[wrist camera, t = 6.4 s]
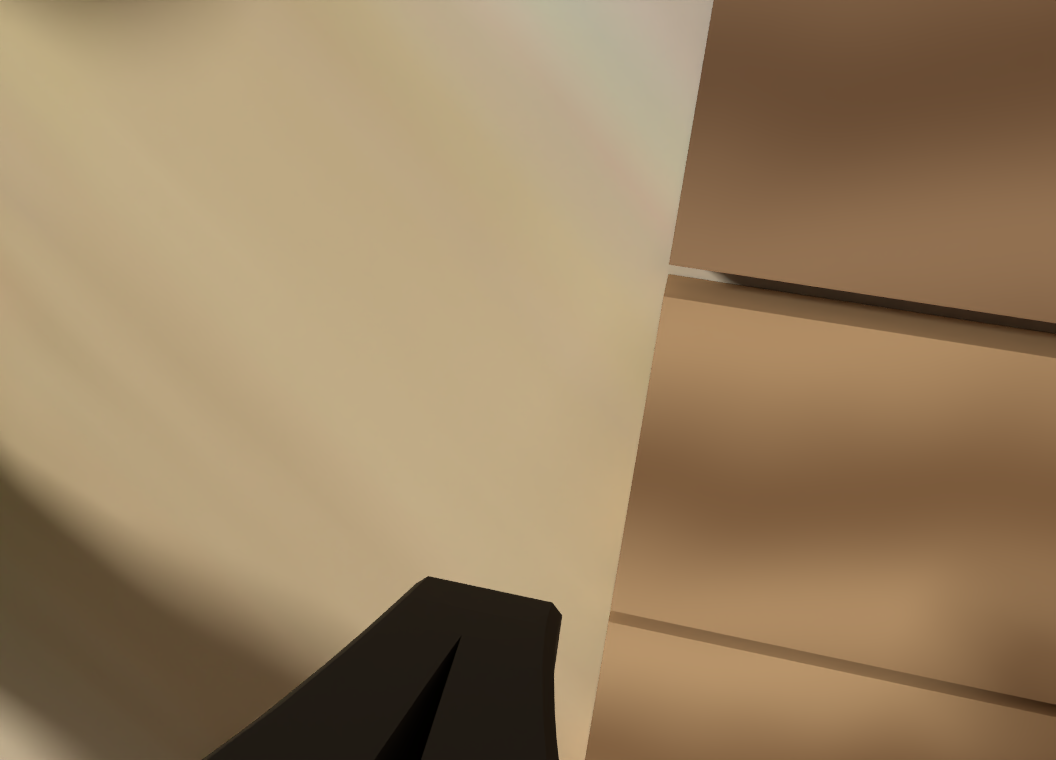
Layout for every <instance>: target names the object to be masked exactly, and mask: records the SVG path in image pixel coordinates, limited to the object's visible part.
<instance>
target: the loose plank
mask: <svg viewBox="0 0 1056 760" xmlns="http://www.w3.org/2000/svg"><path fill="white" fill-rule="evenodd" d="M669 264H670V265H676V266H683V267H689V268H696V269H702V270H709V271H716V272H722V273H729V274H735V275H742V276H748V277H755V278H762V279H768V280H775V281H781V282H788V283H794V284H801V285H807V286H814V287H821V288H827V289H834V290H840V291H847V292H853V293H860V294H867V295H873V296H880V297H886V298H893V299H899V300H906V301H913V302H919V303H926V304H932V305H939V306H945V307H952V308H958V309H965V310H972V311H978V312H985V313H991V314H998V315H1004V316H1011V317H1018V318H1024V319H1031V320H1037V321H1044V322H1050V323H1056V0H714V2H713V8H712V14H711V20H710V25H709V31H708V37H707V43H706V49H705V55H704V61H703V67H702V73H701V79H700V85H699V90H698V96H697V102H696V108H695V114H694V120H693V126H692V132H691V138H690V144H689V150H688V155H687V161H686V167H685V173H684V179H683V185H682V191H681V197H680V203H679V209H678V215H677V220H676V226H675V232H674V238H673V244H672V250H671V256H670V262H669Z"/></svg>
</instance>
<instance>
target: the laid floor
mask: <svg viewBox="0 0 1056 760" xmlns="http://www.w3.org/2000/svg"><path fill="white" fill-rule="evenodd" d="M585 760H1056V334H1053V333H1047V332H1040V331H1034V330H1027V329H1021V328H1014V327H1008V326H1001V325H995V324H988V323H982V322H975V321H969V320H962V319H956V318H949V317H943V316H936V315H930V314H923V313H917V312H910V311H904V310H897V309H891V308H884V307H878V306H871V305H865V304H858V303H852V302H845V301H839V300H832V299H826V298H819V297H813V296H806V295H800V294H793V293H787V292H780V291H774V290H767V289H761V288H754V287H748V286H741V285H735V284H729V283H722V282H716V281H709V280H703V279H696V278H690V277H683V276H677V275H670V274H668V279H667V283H666V288H665V293H664V297H663V303H662V309H661V315H660V321H659V327H658V333H657V339H656V344H655V350H654V356H653V362H652V368H651V374H650V380H649V386H648V392H647V398H646V403H645V409H644V415H643V421H642V427H641V433H640V439H639V445H638V451H637V457H636V462H635V468H634V474H633V480H632V486H631V492H630V498H629V504H628V510H627V515H626V521H625V527H624V533H623V539H622V545H621V551H620V557H619V563H618V569H617V574H616V580H615V586H614V592H613V598H612V604H611V611H610V616H609V622H608V628H607V633H606V639H605V645H604V651H603V657H602V663H601V669H600V675H599V681H598V687H597V692H596V698H595V704H594V710H593V716H592V722H591V728H590V734H589V740H588V746H587V751H586V757H585Z"/></svg>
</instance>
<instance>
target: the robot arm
mask: <svg viewBox="0 0 1056 760" xmlns="http://www.w3.org/2000/svg"><path fill="white" fill-rule="evenodd" d="M561 620H562V615H561V613H560V612H559V611H558V610H557V608H556V607H555V606H554V604H553V603H552V602H547V601H542V600H538V599H533V598H528V597H523V596H519V595H514V594H509V593H505V592H500V591H495V590H491V589H486V588H481V587H476V586H472V585H467V584H462V583H458V582H453V581H448V580H443V579H439V578H434V577H429V576H428V577H426V578H424V579H423V580H421V581H420V582H418V583H416V584H415V585H414V586H413V587H412V588H411V589H410V590H409V591H408V592H406V593H405V594H404V595H403V596H402V597H401V598H400V599H399V600H398V601H397V602H396V603H394V604H393V605H392V606H391V607H390V608H389V609H388V610H387V611H386V612H384V613H383V614H382V615H381V616H380V617H379V618H378V619H377V620H376V621H374V622H373V623H372V624H371V625H370V626H369V627H368V628H367V629H365V630H364V631H363V632H362V633H361V634H360V635H359V636H357V637H356V638H355V639H354V640H353V641H352V642H350V643H349V644H348V645H347V646H346V647H345V648H344V649H342V650H341V651H340V652H339V653H338V654H337V655H335V656H334V657H333V658H332V659H331V660H330V661H328V662H327V663H326V664H325V665H324V666H322V667H321V668H320V669H319V670H317V671H316V672H315V673H314V674H312V675H311V676H310V677H309V678H308V679H306V680H305V681H304V682H303V683H301V684H300V685H299V686H298V687H296V688H295V689H294V690H293V691H292V692H290V693H289V694H288V695H287V696H285V697H284V698H283V699H282V700H281V701H279V702H278V703H277V704H276V705H274V706H273V707H272V708H271V709H269V710H268V711H267V712H266V713H264V714H263V715H262V716H261V717H259V718H258V719H257V720H255V721H254V722H253V723H251V724H250V725H249V726H248V727H246V728H245V729H243V730H242V731H241V732H239V733H238V734H237V735H235V736H234V737H233V738H231V739H230V740H229V741H227V742H226V743H224V744H223V745H222V746H220V747H219V748H218V749H216V750H215V751H214V752H212V753H211V754H209V755H208V756H207V757H205V758H204V759H203V760H559V757H558V748H557V738H556V724H555V703H554V669H555V662H556V655H557V648H558V641H559V634H560V627H561Z"/></svg>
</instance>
